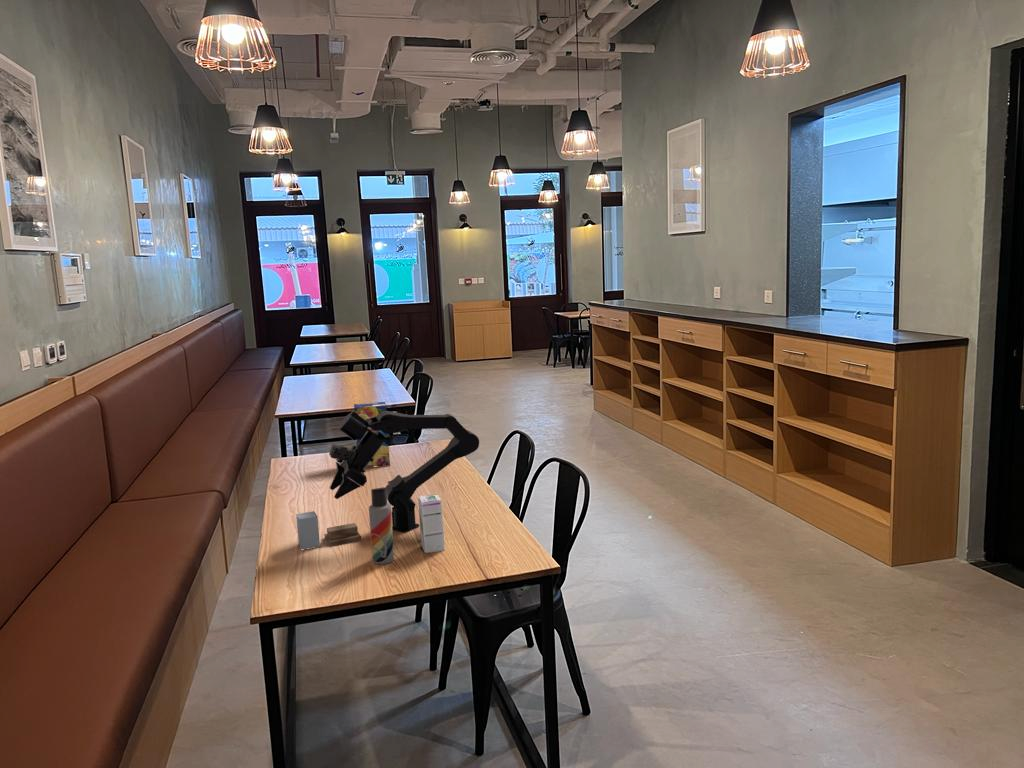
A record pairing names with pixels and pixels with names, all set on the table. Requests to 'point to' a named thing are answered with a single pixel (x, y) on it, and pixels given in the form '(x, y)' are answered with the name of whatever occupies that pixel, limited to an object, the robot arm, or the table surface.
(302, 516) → the slate post
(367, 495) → the table surface
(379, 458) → the juice carton
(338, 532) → the walnut ridge
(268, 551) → the table surface
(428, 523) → the syrup box
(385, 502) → the lotion bottle
